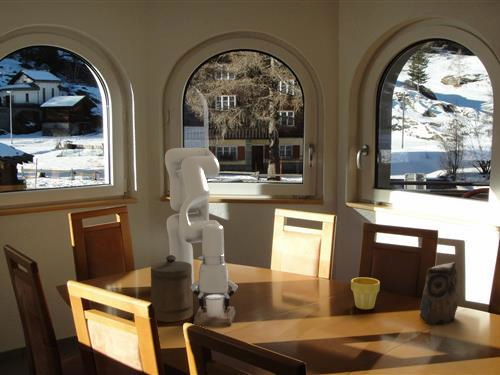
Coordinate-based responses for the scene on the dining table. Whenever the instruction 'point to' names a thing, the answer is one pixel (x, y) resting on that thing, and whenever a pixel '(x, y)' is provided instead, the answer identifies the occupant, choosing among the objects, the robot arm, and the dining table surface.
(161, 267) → the wooden container
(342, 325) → the dining table surface
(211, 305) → the white cup
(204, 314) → the square wooden tray
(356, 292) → the plant pot
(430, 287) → the owl
